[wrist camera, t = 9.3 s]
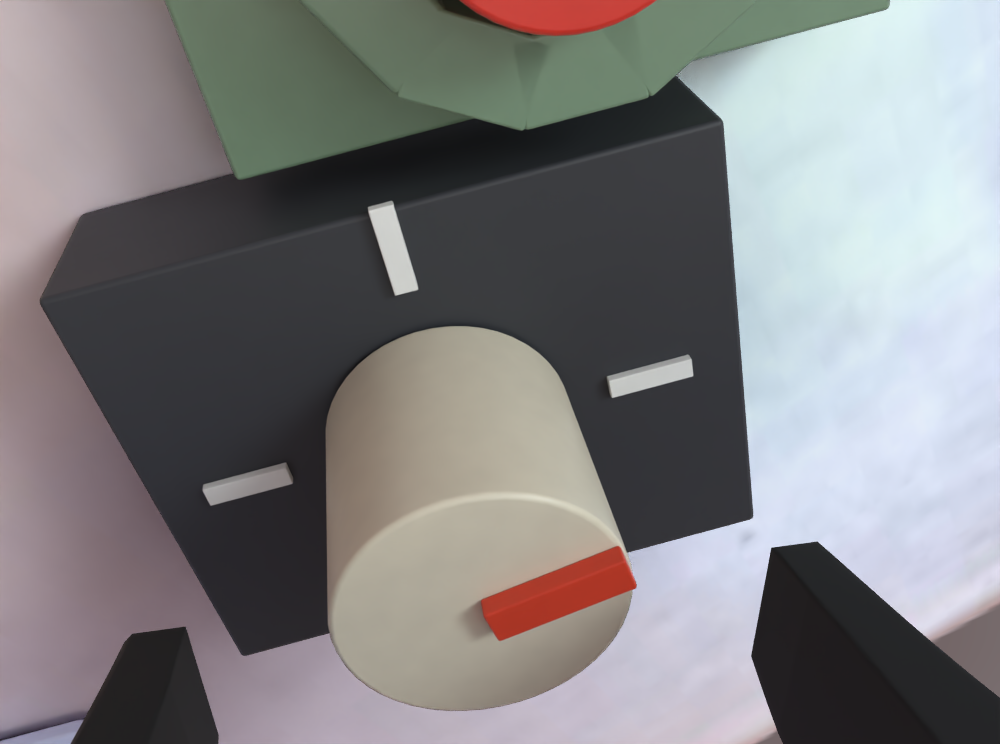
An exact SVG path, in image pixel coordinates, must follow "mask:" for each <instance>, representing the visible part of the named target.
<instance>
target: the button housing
mask: <svg viewBox="0 0 1000 744" xmlns="http://www.w3.org/2000/svg"><path fill="white" fill-rule="evenodd" d="M164 1H165V3H166V6H167V8H168V11H169V13H170V16H171V18H172V21H173V23H174V26H175V28H176V31H177V33H178V36H179V38H180V41H181V43H182V46H183V48H184V51H185V53H186V56H187V58H188V61H189V63H190V66H191V68H192V71H193V73H194V76H195V78H196V81H197V83H198V86H199V88H200V91H201V93H202V96H203V98H204V101H205V103H206V106H207V108H208V111H209V113H210V116H211V118H212V121H213V123H214V126H215V128H216V131H217V133H218V136H219V138H220V141H221V143H222V146H223V148H224V151H225V153H226V156H227V158H228V161H229V163H230V166H231V168H232V171H233V173H234V176H235V177H236V178H237V179H238V180H244V179H247V178H251V177H255V176H259V175H263V174H266V173H270V172H274V171H278V170H282V169H285V168H289V167H293V166H297V165H300V164H304V163H308V162H312V161H316V160H319V159H323V158H327V157H331V156H334V155H338V154H342V153H346V152H350V151H353V150H357V149H361V148H365V147H369V146H372V145H376V144H380V143H384V142H387V141H391V140H395V139H399V138H403V137H406V136H410V135H414V134H418V133H422V132H425V131H429V130H433V129H437V128H440V127H444V126H448V125H452V124H456V123H459V122H463V121H467V120H471V119H478V120H482V121H486V122H490V123H493V124H497V125H501V126H505V127H508V128H512V129H516V130H520V131H523V130H524V129H528V130H529V129H533V128H537V127H541V126H544V125H548V124H552V123H556V122H560V121H563V120H567V119H571V118H575V117H578V116H582V115H586V114H590V113H594V112H597V111H601V110H605V109H609V108H612V107H616V106H620V105H624V104H628V103H631V102H635V101H639V100H643V99H646V98H648V97H649V95H650V96H653V95H655V94H656V93H657V92H658V91H659V90H660V89H661V88H662V87H663V86H665V85H666V84H667V83H668V82H669V81H670V80H671V79H672V78H673V77H674V76H676V75H677V74H678V73H679V72H680V71H681V70H682V69H683V68H684V67H686V66H687V65H688V64H689V63H690V62H691V61H694V60H698V59H702V58H705V57H709V56H713V55H717V54H721V53H724V52H728V51H732V50H736V49H739V48H743V47H747V46H751V45H755V44H758V43H762V42H766V41H770V40H774V39H777V38H781V37H785V36H789V35H792V34H796V33H800V32H804V31H808V30H811V29H815V28H819V27H823V26H826V25H830V24H834V23H838V22H842V21H845V20H849V19H853V18H857V17H861V16H864V15H868V14H872V13H876V12H879V11H883V10H886V9H887V8H889V5H890V0H656V1H655V2H654V3H653V4H651V5H650V6H648V7H646V8H645V9H643V10H642V11H640V12H639V13H637V14H636V15H634V16H632V17H630V18H628V19H626V20H623V21H621V22H619V23H617V24H615V25H612V26H609V27H606V28H603V29H600V30H597V31H593V32H588V33H583V34H578V35H567V36H545V35H533V34H529V33H525V32H520V31H516V30H512V29H510V28H507V27H504V26H502V25H499V24H496V23H494V22H492V21H490V20H488V19H486V18H485V17H483V16H481V15H479V14H477V13H475V12H474V11H473V10H471V9H470V8H469V7H467V6H466V5H465V4H463V3H462V2H460V1H459V0H164Z"/></svg>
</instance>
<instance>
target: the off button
mask: <svg viewBox="0 0 1000 744" xmlns="http://www.w3.org/2000/svg"><path fill="white" fill-rule="evenodd" d="M459 1H460V2H462V3H463V4H465V5H466V6H467V7H469V8H470V9H471V10H473V11H474V12H475V13H477V14H479V15H481V16H483V17H485V18H486V19H488V20H490V21H492V22H494V23H496V24H499V25H502V26H504V27H507V28H510V29H512V30H516V31H520V32H525V33H529V34H533V35H545V36H567V35H578V34H583V33H588V32H593V31H597V30H600V29H603V28H606V27H609V26H612V25H615V24H617V23H619V22H621V21H623V20H626V19H628V18H630V17H632V16H634V15H636V14H637V13H639V12H640V11H642V10H643V9H645V8H646V7H648V6H650V5H651V4H653V3H654V2H655V1H656V0H459Z"/></svg>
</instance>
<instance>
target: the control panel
mask: <svg viewBox="0 0 1000 744" xmlns="http://www.w3.org/2000/svg"><path fill="white" fill-rule="evenodd" d="M40 305H41V307H42V308H43V310H44V312H45V313H46V315H47V317H48V319H49V320H50V322H51V324H52V326H53V327H54V329H55V331H56V333H57V334H58V336H59V338H60V340H61V341H62V343H63V345H64V347H65V348H66V350H67V352H68V353H69V355H70V357H71V359H72V360H73V362H74V364H75V366H76V367H77V369H78V371H79V373H80V374H81V376H82V378H83V380H84V381H85V383H86V385H87V387H88V388H89V390H90V392H91V394H92V395H93V397H94V399H95V400H96V402H97V404H98V406H99V407H100V409H101V411H102V413H103V414H104V416H105V418H106V420H107V421H108V423H109V425H110V427H111V428H112V430H113V432H114V434H115V435H116V437H117V439H118V440H119V442H120V444H121V446H122V447H123V449H124V451H125V453H126V454H127V456H128V458H129V460H130V461H131V463H132V465H133V467H134V468H135V470H136V472H137V474H138V475H139V477H140V479H141V481H142V482H143V484H144V486H145V487H146V489H147V491H148V493H149V494H150V496H151V498H152V500H153V501H154V503H155V505H156V507H157V508H158V510H159V512H160V514H161V515H162V517H163V519H164V521H165V522H166V524H167V526H168V527H169V529H170V531H171V533H172V534H173V536H174V538H175V540H176V541H177V543H178V545H179V547H180V548H181V550H182V552H183V554H184V555H185V557H186V559H187V561H188V562H189V564H190V566H191V567H192V569H193V571H194V573H195V574H196V576H197V578H198V580H199V581H200V583H201V585H202V587H203V588H204V590H205V592H206V594H207V595H208V597H209V599H210V601H211V602H212V604H213V606H214V608H215V609H216V611H217V613H218V614H219V616H220V618H221V620H222V621H223V623H224V625H225V627H226V628H227V630H228V632H229V634H230V635H231V637H232V639H233V641H234V642H235V644H236V646H237V648H238V649H239V651H240V653H241V654H242V655H243V656H247V655H251V654H254V653H258V652H262V651H265V650H269V649H273V648H276V647H280V646H284V645H287V644H291V643H295V642H299V641H302V640H306V639H310V638H313V637H317V636H321V635H324V634H328V633H329V628H328V602H327V512H326V423H327V416H328V413H329V409H330V406H331V403H332V401H333V399H334V397H335V395H336V393H337V391H338V389H339V387H340V386H341V385H342V383H343V382H344V380H345V379H346V377H347V376H348V375H349V374H350V373H351V372H352V371H353V370H354V369H355V367H356V366H357V365H358V364H359V363H360V362H362V361H363V360H364V359H365V358H366V357H368V356H369V355H370V354H371V353H373V352H374V351H376V350H378V349H379V348H381V347H382V346H384V345H385V344H388V343H390V342H392V341H394V340H396V339H398V338H400V337H403V336H405V335H408V334H411V333H414V332H417V331H422V330H426V329H430V328H437V327H445V326H470V327H479V328H485V329H489V330H493V331H498V332H500V333H503V334H506V335H509V336H511V337H513V338H515V339H517V340H519V341H521V342H523V343H525V344H527V345H528V346H530V347H531V348H532V349H534V350H535V351H537V352H538V353H539V354H540V355H541V356H542V357H544V358H545V359H546V360H547V361H548V362H549V363H550V365H551V366H552V367H553V369H554V370H555V371H556V373H557V374H558V376H559V378H560V379H561V381H562V383H563V385H564V388H565V390H566V393H567V395H568V398H569V401H570V403H571V406H572V409H573V411H574V414H575V417H576V419H577V422H578V424H579V427H580V430H581V432H582V435H583V438H584V440H585V443H586V446H587V448H588V451H589V454H590V456H591V459H592V461H593V464H594V467H595V469H596V472H597V475H598V477H599V480H600V483H601V485H602V488H603V490H604V493H605V496H606V498H607V501H608V504H609V506H610V509H611V512H612V514H613V517H614V519H615V522H616V525H617V527H618V530H619V533H620V535H621V538H622V541H623V543H624V546H625V549H626V551H627V553H628V552H631V551H635V550H639V549H642V548H646V547H650V546H653V545H657V544H661V543H665V542H668V541H672V540H676V539H679V538H683V537H687V536H690V535H694V534H698V533H702V532H705V531H709V530H713V529H716V528H720V527H724V526H727V525H731V524H735V523H738V522H742V521H746V520H750V519H751V518H753V505H752V492H751V479H750V466H749V453H748V440H747V427H746V414H745V400H744V387H743V374H742V361H741V348H740V335H739V322H738V309H737V296H736V283H735V270H734V257H733V244H732V231H731V218H730V205H729V192H728V179H727V165H726V152H725V139H724V126H723V121H722V120H721V118H720V117H719V116H718V115H716V114H715V113H714V112H713V111H712V110H711V109H710V108H709V107H708V106H707V105H706V104H705V103H704V102H703V101H702V100H701V99H700V98H699V97H697V96H696V95H695V94H694V93H693V92H692V91H691V90H690V89H689V88H688V87H687V86H686V85H685V84H684V83H683V82H682V81H681V80H680V79H679V78H677V77H676V76H674V77H673V78H672V79H671V80H670V81H669V82H668V83H667V84H666V85H665V86H663V87H662V88H661V89H660V90H659V91H658V92H657V93H656V94H655V95H653V96H650V95H649V97H648V98H646V99H643V100H639V101H635V102H631V103H628V104H624V105H620V106H616V107H612V108H609V109H605V110H601V111H597V112H594V113H590V114H586V115H582V116H578V117H575V118H571V119H567V120H563V121H560V122H556V123H552V124H548V125H544V126H541V127H537V128H533V129H529V130H528V129H524V130H523V131H520V130H516V129H512V128H508V127H505V126H501V125H497V124H493V123H490V122H486V121H482V120H478V119H471V120H467V121H463V122H459V123H456V124H452V125H448V126H444V127H440V128H437V129H433V130H429V131H425V132H422V133H418V134H414V135H410V136H406V137H403V138H399V139H395V140H391V141H387V142H384V143H380V144H376V145H372V146H369V147H365V148H361V149H357V150H353V151H350V152H346V153H342V154H338V155H334V156H331V157H327V158H323V159H319V160H316V161H312V162H308V163H304V164H300V165H297V166H293V167H289V168H285V169H282V170H278V171H274V172H270V173H266V174H263V175H259V176H255V177H251V178H247V179H244V180H238V179H237V178H236V177H235V176H234V175H230V176H226V177H222V178H219V179H215V180H211V181H207V182H203V183H200V184H196V185H192V186H188V187H185V188H181V189H177V190H173V191H169V192H166V193H162V194H158V195H154V196H150V197H147V198H143V199H139V200H135V201H132V202H128V203H124V204H120V205H116V206H113V207H109V208H105V209H101V210H97V211H94V212H90V213H86V214H83V215H82V216H81V217H80V219H79V221H78V223H77V225H76V227H75V229H74V231H73V233H72V235H71V237H70V239H69V241H68V243H67V245H66V247H65V250H64V252H63V254H62V256H61V258H60V260H59V262H58V264H57V266H56V268H55V270H54V272H53V274H52V276H51V278H50V280H49V282H48V284H47V286H46V288H45V290H44V292H43V294H42V296H41V298H40Z"/></svg>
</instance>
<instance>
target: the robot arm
mask: <svg viewBox="0 0 1000 744" xmlns="http://www.w3.org/2000/svg"><path fill="white" fill-rule="evenodd" d="M751 657H752V660H753V663H754V666H755V669H756V672H757V675H758V678H759V681H760V684H761V686H762V689H763V692H764V695H765V698H766V701H767V704H768V707H769V709H770V712H771V715H772V717H773V720H774V723H775V726H776V728H777V731H778V734H779V736H780V738H781V740H782V742H783V744H1000V698H999V697H998V696H997V695H996V694H994V693H993V692H992V691H991V690H989V689H988V688H987V687H985V686H984V685H983V684H982V683H980V682H979V681H978V680H977V679H976V678H974V677H973V676H972V675H971V674H969V673H968V672H967V671H966V670H965V669H963V668H962V667H961V666H960V665H959V664H957V663H956V662H955V661H954V660H953V659H952V658H950V657H949V656H948V655H947V654H946V653H944V652H943V651H942V650H941V649H940V648H938V647H937V646H936V645H935V644H933V643H932V642H931V641H930V640H929V639H928V638H926V637H925V636H924V635H923V634H922V633H921V632H919V631H918V630H917V629H916V628H915V627H914V626H912V625H911V624H910V623H909V622H908V621H907V620H906V619H904V618H903V617H902V616H901V615H900V614H899V613H898V612H896V611H895V610H894V609H893V608H892V607H891V606H890V605H888V604H887V603H886V602H885V601H884V600H883V599H882V598H881V597H879V596H878V595H877V594H876V593H875V592H874V591H873V590H872V589H870V588H869V587H868V586H867V585H866V584H865V583H864V582H863V581H861V580H860V579H859V578H858V577H857V576H856V575H855V574H854V573H852V572H851V571H850V570H849V569H848V568H847V567H846V566H845V565H843V564H842V563H841V562H840V561H839V560H838V559H837V558H835V557H834V556H833V555H832V554H831V553H830V552H829V551H827V550H826V549H825V548H824V547H823V546H822V545H821V544H820V543H818V542H811V543H804V544H796V545H789V546H781V547H774V548H771V553H770V558H769V564H768V569H767V574H766V580H765V585H764V590H763V596H762V601H761V607H760V612H759V617H758V623H757V628H756V633H755V639H754V644H753V650H752V655H751ZM0 744H218V732H217V729H216V725H215V722H214V719H213V715H212V712H211V709H210V706H209V702H208V699H207V696H206V692H205V689H204V686H203V683H202V679H201V676H200V673H199V669H198V666H197V663H196V660H195V656H194V653H193V650H192V646H191V643H190V640H189V637H188V633H187V630H186V627H180V628H173V629H165V630H158V631H150V632H143V633H136V634H132V635H131V636H130V637H129V638H128V639H127V640H126V641H125V642H124V644H123V646H122V648H121V650H120V652H119V654H118V656H117V658H116V660H115V662H114V664H113V666H112V668H111V670H110V672H109V674H108V675H107V677H106V679H105V681H104V683H103V685H102V687H101V689H100V691H99V693H98V695H97V696H96V698H95V700H94V702H93V704H92V706H91V708H90V709H89V711H88V713H87V715H86V717H85V719H84V720H76V721H72V722H68V723H65V724H61V725H57V726H54V727H50V728H46V729H42V730H39V731H35V732H31V733H28V734H24V735H20V736H17V737H13V738H9V739H5V740H2V741H0Z"/></svg>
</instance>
